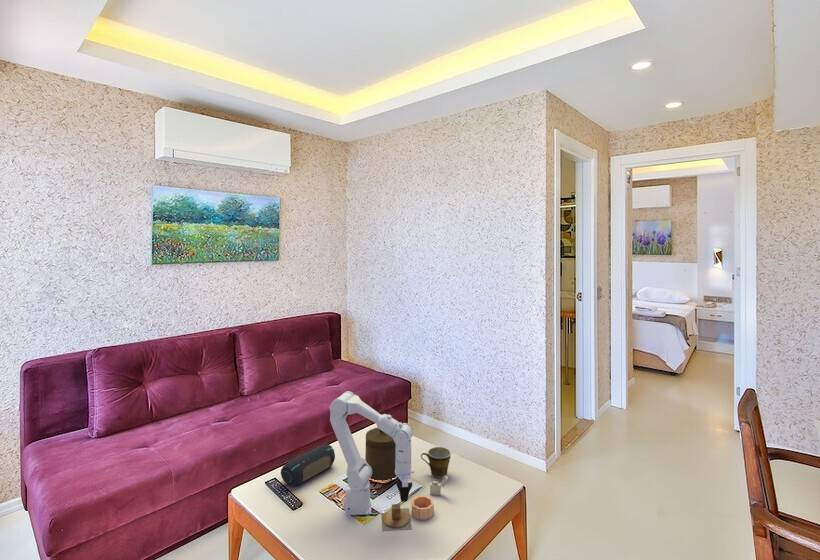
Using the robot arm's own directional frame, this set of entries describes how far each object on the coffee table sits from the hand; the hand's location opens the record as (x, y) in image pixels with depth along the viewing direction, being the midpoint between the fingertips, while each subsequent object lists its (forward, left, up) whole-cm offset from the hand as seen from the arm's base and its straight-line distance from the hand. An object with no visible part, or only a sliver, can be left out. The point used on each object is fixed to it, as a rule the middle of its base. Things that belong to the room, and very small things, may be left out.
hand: (403, 494), depth 153 cm
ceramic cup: (+16, +27, -9) cm, 33 cm away
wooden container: (-7, +29, -9) cm, 31 cm away
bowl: (+7, +1, -9) cm, 11 cm away
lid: (-3, -2, -8) cm, 9 cm away
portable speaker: (-38, +32, -9) cm, 50 cm away
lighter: (+15, +12, -9) cm, 22 cm away
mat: (-3, -2, -9) cm, 9 cm away
